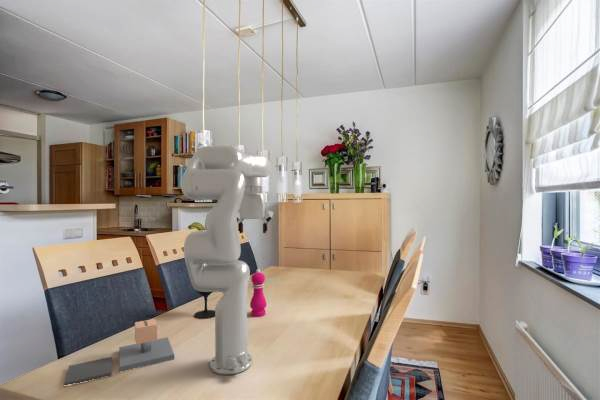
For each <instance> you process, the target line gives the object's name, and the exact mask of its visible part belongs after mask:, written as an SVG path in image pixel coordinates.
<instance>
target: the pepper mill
mask: <svg viewBox="0 0 600 400" xmlns="http://www.w3.org/2000/svg"><path fill="white" fill-rule="evenodd" d="M250 280H251V282H252V289H253V294H252V297H251V300H250V303H249V308H251V310H250V316H252V317H255V318H256V317H257V318H260V317H264V316H265V315H266V307H267V300H266V297H265V296H264V290H263V289H264V286H265V284H264V283H265V280H266V276H265V274H264V273H262V272H261V270H260V269H259V268H257V269H256V271H255V272H254V273H253V274H252V275H251V279H250Z"/></svg>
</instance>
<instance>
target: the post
mask: <svg viewBox="0 0 600 400" xmlns="http://www.w3.org/2000/svg"><path fill="white" fill-rule="evenodd" d="M149 351H151V342H146V343H141V353H147V352H149Z"/></svg>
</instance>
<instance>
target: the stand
mask: <svg viewBox="0 0 600 400" xmlns="http://www.w3.org/2000/svg"><path fill="white" fill-rule="evenodd" d="M118 356H119V357H118V359H119V361H118V363H119V364H118V365H119V372H120V371H123V372H126V371H125V370H127V371H130V370H129V369H131V370H134V369H133V368H136V369H139V368H138V367H140V368H144V367H147V365H148V366H151V365H156V364H159V363H164V362H168V361H173V360H175V353H174V350H173V348H172V345H171V342H170V340H169V337H163V338H162V337H161V338H157V340H156V341H151V351H149V352H147V353H141V344H137V345H136V343H134V344H133V343H132V344H129V345H122V346H119V347H118ZM143 366H144V367H143Z"/></svg>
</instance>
